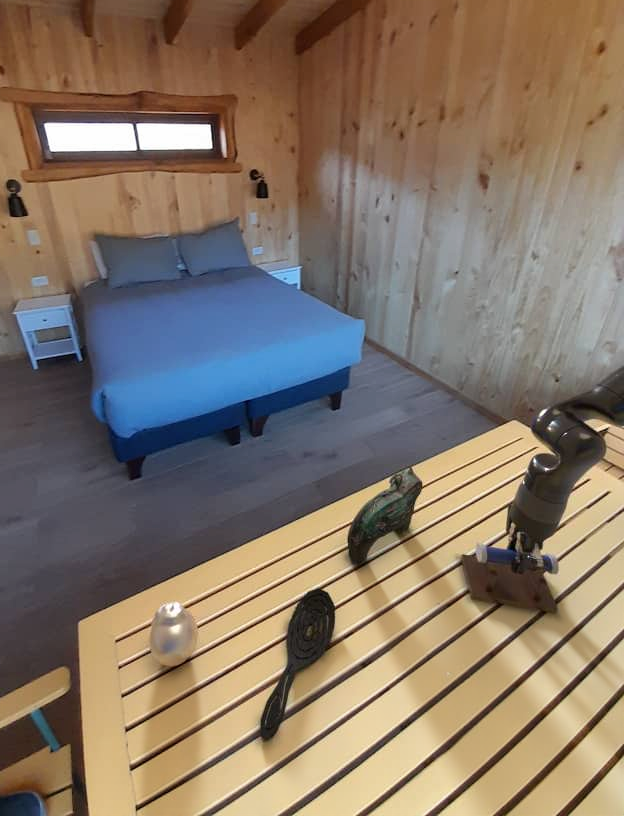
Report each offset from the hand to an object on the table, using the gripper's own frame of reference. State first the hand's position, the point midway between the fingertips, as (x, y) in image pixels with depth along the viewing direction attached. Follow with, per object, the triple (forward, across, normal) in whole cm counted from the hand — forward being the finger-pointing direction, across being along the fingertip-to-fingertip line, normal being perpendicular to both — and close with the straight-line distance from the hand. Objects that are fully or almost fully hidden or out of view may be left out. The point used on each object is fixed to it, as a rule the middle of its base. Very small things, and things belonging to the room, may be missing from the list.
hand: (513, 563), depth 82 cm
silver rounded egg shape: (+7, -24, +65) cm, 70 cm away
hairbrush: (+7, -22, +42) cm, 48 cm away
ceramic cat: (+7, +6, +25) cm, 27 cm away
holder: (+7, 0, 0) cm, 7 cm away
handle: (0, 0, 0) cm, 0 cm away
